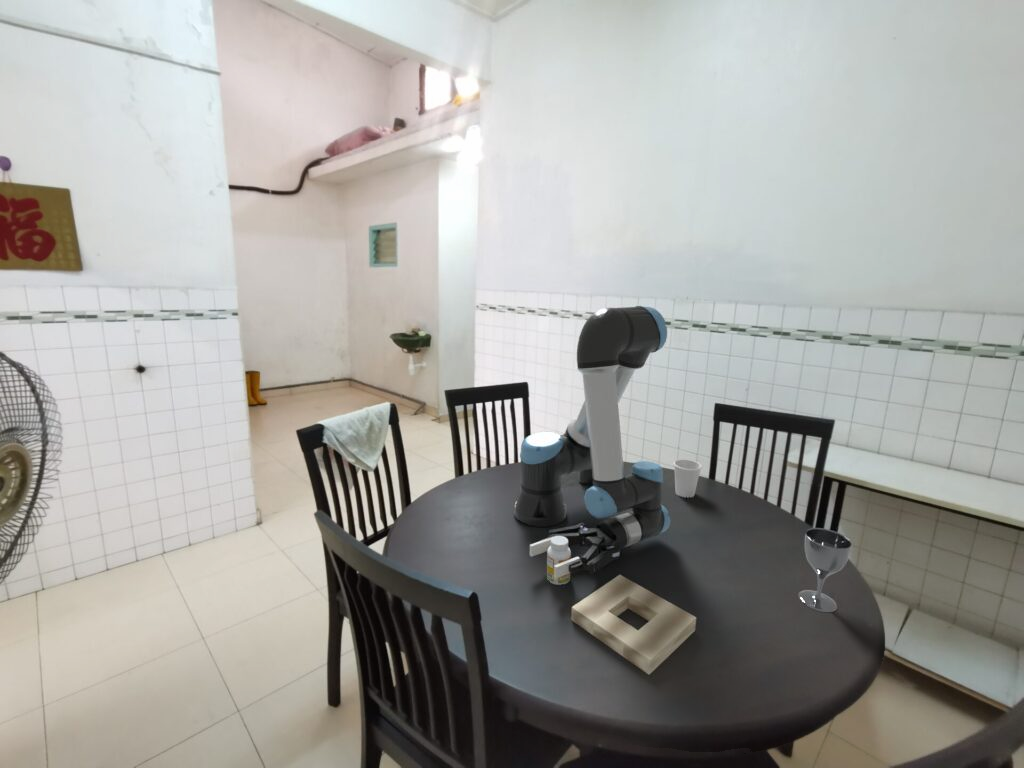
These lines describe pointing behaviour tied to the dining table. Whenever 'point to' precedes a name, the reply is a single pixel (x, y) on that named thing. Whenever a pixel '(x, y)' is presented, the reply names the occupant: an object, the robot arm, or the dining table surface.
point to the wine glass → (824, 564)
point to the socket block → (635, 645)
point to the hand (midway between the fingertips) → (542, 561)
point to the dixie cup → (686, 477)
